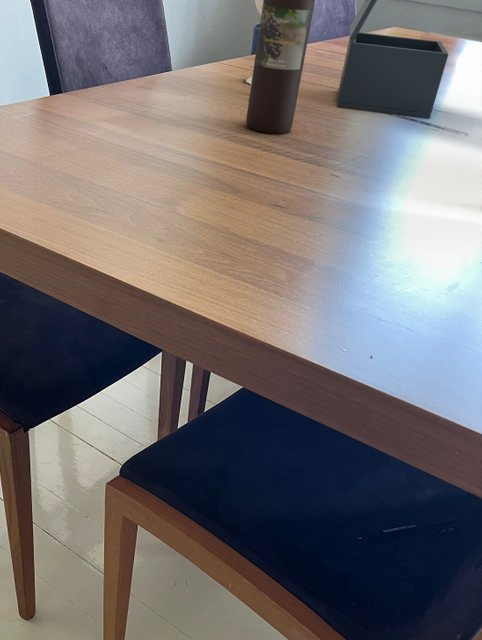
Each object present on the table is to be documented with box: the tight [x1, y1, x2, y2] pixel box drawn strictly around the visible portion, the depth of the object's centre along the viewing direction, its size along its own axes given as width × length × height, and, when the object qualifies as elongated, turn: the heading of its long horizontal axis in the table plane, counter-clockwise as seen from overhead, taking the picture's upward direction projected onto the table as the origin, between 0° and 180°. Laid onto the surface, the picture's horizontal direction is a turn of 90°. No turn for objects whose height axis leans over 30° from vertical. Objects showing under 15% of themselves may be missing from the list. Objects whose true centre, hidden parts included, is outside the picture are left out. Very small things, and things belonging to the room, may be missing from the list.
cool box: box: [336, 31, 449, 119], centre depth 127 cm, size 16×13×10 cm
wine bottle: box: [245, 0, 316, 135], centre depth 102 cm, size 7×7×30 cm
